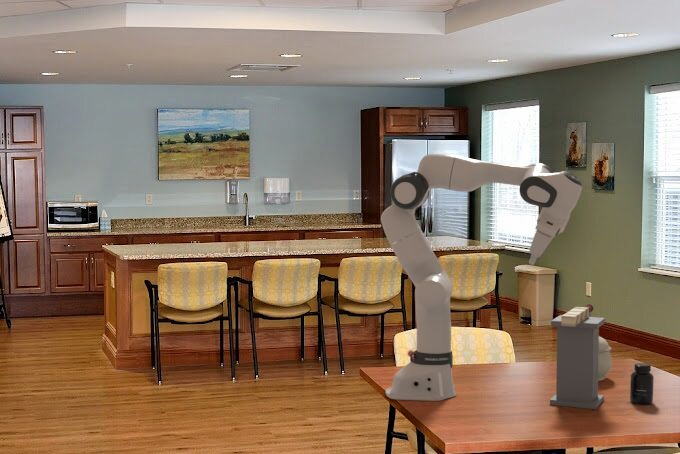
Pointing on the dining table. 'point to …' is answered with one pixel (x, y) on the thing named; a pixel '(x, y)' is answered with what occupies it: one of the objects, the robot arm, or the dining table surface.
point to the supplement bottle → (641, 385)
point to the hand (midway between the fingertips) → (534, 259)
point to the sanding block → (574, 316)
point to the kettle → (602, 354)
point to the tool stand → (577, 364)
